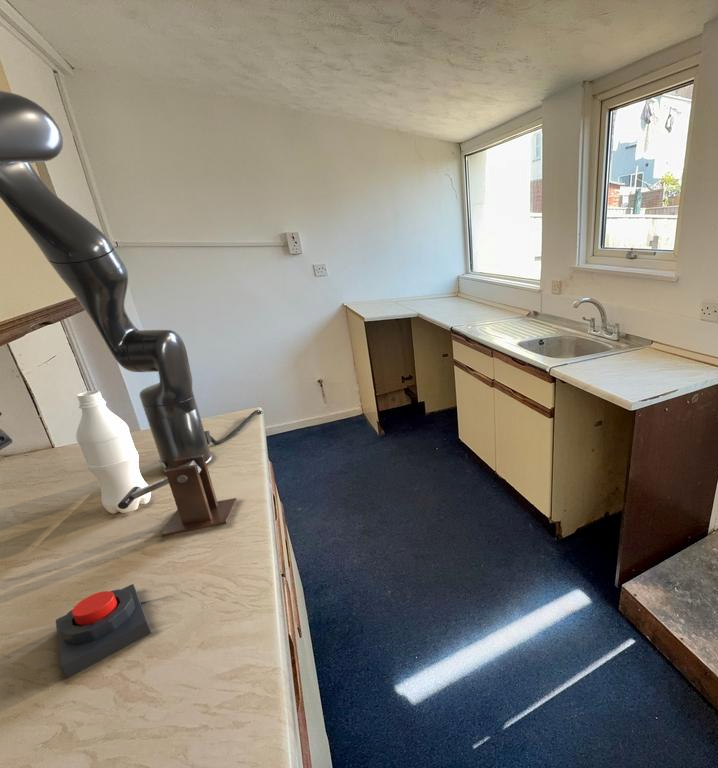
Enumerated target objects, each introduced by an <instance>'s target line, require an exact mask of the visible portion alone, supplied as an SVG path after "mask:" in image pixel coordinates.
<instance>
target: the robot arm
mask: <svg viewBox="0 0 718 768" xmlns="http://www.w3.org/2000/svg"><path fill="white" fill-rule="evenodd" d="M63 145H64V139H63V135H62V132H61V129H60V127H59V124H57V122H56V121H55V118H53V116H52V115H51V114H50V113H49V112H48V111H47V110H46V109H44V108H43V107H42V106H41V105H39V104H38V103H37V102H36V101H33V100H31V99H29V98H27V97H26V96H22V95H20V94H17V93H13V92H9V91H4V90H0V199H1V200H2V202H3V203H4V205H5V206H6V207H7V209H8V210H9V211H10V212H11V213H12V215H13V216H14V217H15V218H16V220H17V221H18V223H20V224H21V226H22V227H23V229H24V230H25V231H26V232H27V234H28V235H29V236H30V237H31V239H32V240H33V241H34V242H35V245H37V247H38V249H39V250H40V251H41V253H42V254H43V256H44V257H45V259H46V261H48V263H49V264H50V265H51V267H52V268H53V269H54V271H55V272H56V273H57V275H58V276H59V277H60V279H61V280H62V281H63V282H64V283H65V285H66V286H67V287H68V289H69V290H70V291H71V292H72V293H73V295H74V297H75V298H76V299H77V301H78V302H79V304H80V305H81V307H82V308H83V310H84V311H85V313H86V314H87V315H88V317H89V318H90V319H91V321H92V323H93V325H94V326H95V328H96V329H97V332H98V333H99V334H100V336H101V338H102V340H103V341H104V342H105V345H106V346H107V347H106V348H108V350H109V352H110V354H111V355H112V357H113V358H114V360H115V361H116V362H117V363H118V364H119V366H121V367H122V368H123V369H125V370H126V371H129V372H132V373H158V376H159V382H158V383H154V384H152V385H149V386H147V387H145V388H143V389H142V390H141V391H140V392H139V399H140V402H141V405H142V408H143V411H144V414H145V417H146V419H147V422H148V426H149V429H150V431H151V435H152V438H153V441H154V444H155V446H156V449H157V453H158V456H159V459H158V461H159V464H160V465H161V466H162V470H163V473H165V474H166V470H167V469H172V468H176V465H175V462H174V461H175V459H177V458H183V457H190V456H197V455H204V457H205V461H206V464H207V465H208V464H209V463H210V462H211V461H212V460H213V456H212V453H211V450H210V446H209V445H210V444H211V443H212V444H214V445H220V444H222V443H225V442H227V441H228V440H229V439H231V438H232V437H233V436H235V435H236V434H237V433H238V432H239V431H241V430H242V429H243V428H244V427H245V426H246V424H247V423H248V422H249V421H251V420H252V418H254V417H255V415H256V414H259V415H261V414H263V411H262V410H260V409H256V410H254V411H253V412H251V414H249V415H248V416H247V418H245V419H244V420H243V421H242V422H241V423H240V424H239V425H238V426H237V427H236V428H235V429H234V430H232V431H231V432H230V433H229V434H228V435H227V436H226V437H224V438H223V439H219V440H217V439H215V438H214V436H212V435H211V433H210V430H205V429H204V425H203V421H202V419H201V415H200V411H199V408H198V405H197V401H196V398H195V393H194V390H193V375H192V371H191V367H190V366H191V365H190V362H189V356H188V352H187V348H186V345H185V342H184V340H183V339H182V337H181V336H180V335H179V334H178V333H177V332H176V331H174V330H171V329H144V330H143V329H142V330H141V329H140V330H139V329H138V328H137V327H136V326H135V325H134V324H133V322H132V321H131V319H130V317H129V315H128V313H127V311H126V307H125V303H126V296H127V291H128V287H129V286H128V285H129V272H128V269H127V267H126V265H125V264H124V262H123V260H122V258H120V256H119V254H118V252H117V250H116V248H115V247H114V246H113V244H112V242H111V241H110V239H109V238H108V236H107V235H106V234H104V233H103V232H102V231H101V230H100V229H99V228H98V227H96V225H94V224H93V223H92V222H91V221H89V219H87V218H86V217H84V216H83V215H82V214H80V213H79V212H78V211H77V210H75V209H74V208H73V207H71V206H70V205H69V204H67V203H66V202H65V201H64V200H62V199H61V198H60V197H58V196H57V195H56V193H54V192H53V191H52V189H50V188H49V187H48V186H47V184H46V183H45V182H44V181H43V179H41V177H40V176H39V174H38V173H37V172H36V170H35V168H33V166H32V165H31V164H35V163H36V164H37V163H44V162H50V161H52V160H54V159H55V158H57V157H58V156H59V155H60V154H61V152H62V150H63ZM258 411H259V412H258ZM261 412H262V413H261ZM2 415H3V414H2V412H1V411H0V417H1V416H2ZM11 444H13V439H12V438H11V437H10V436H9V435H8V434H7V433H6V432H5V430H3V429H1V428H0V451H1V450H3V449H4V448H6V447H8V446H9V445H11Z"/></svg>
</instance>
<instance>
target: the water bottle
mask: <svg viewBox="0 0 718 768" xmlns="http://www.w3.org/2000/svg"><path fill="white" fill-rule="evenodd" d="M76 397H77V400H78V408H79V410H80V409H81V418H80V420H79V423H78V426H77V429H76V433H75V434H76V435H75V436H76V437H75V438H76V443H78V445H79V447H80V450H81V452H82V455H83V458H84V459H85V462H86V467H87V470H88V471H89V472H90V473H92V474H93V475H94V477H95V478H96V480H97V482H98V483H99V487H100V490H101V491H100V493H101V497H100V502H101V504H102V506H103V508H104V509H105V510H106V511H107V512H108V513H110V514H112V515H114V514H118V513H119V512H120V513H121V514H127V513H131V512H133V511H136V510H137V509H139V505H142V506H143V505H146V504H148V503H149V502H150V500H151V496H152V491H151V492H149V493H147V494H145V495H143V496H140V497H138V498H136V499H134V500H133V502H132V503H131V504H130V505H129V506H128V507H127V508H126V509H120V508H119V507H118V504H119V503H120V501H121V500H122V499H123V498H124V497H125V496H126V495H127V494H128V493H129V491H130V490H131V489H132V488H133V487H136V486H138V487H140V488H141V489H142V488H144V487H146V486H148V485H149V484H148V483H147V482H146V481H145V480H144V477H143V476H142V474H141V472H140V471H141V470H140V466H139V460H140V459H139V458H140V456H139V452H138V450H137V449H136V447H135V444H134V441H133V438H132V434H131V432H130V428H129V427H130V426H129V425H128V424H127V423H126V422H125V421H124V420H123V419H122V418H121V417H119V416H118V415H116V414H115V413H114V412H112V411H111V410H110V409H109V408H108V406H107V405H106V404H107V401H106V400H105V399H104V398H103V397H102V393H101V391H100V390H89V391H88V390H87V391H84V392H80V393H78V394H76Z"/></svg>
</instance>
